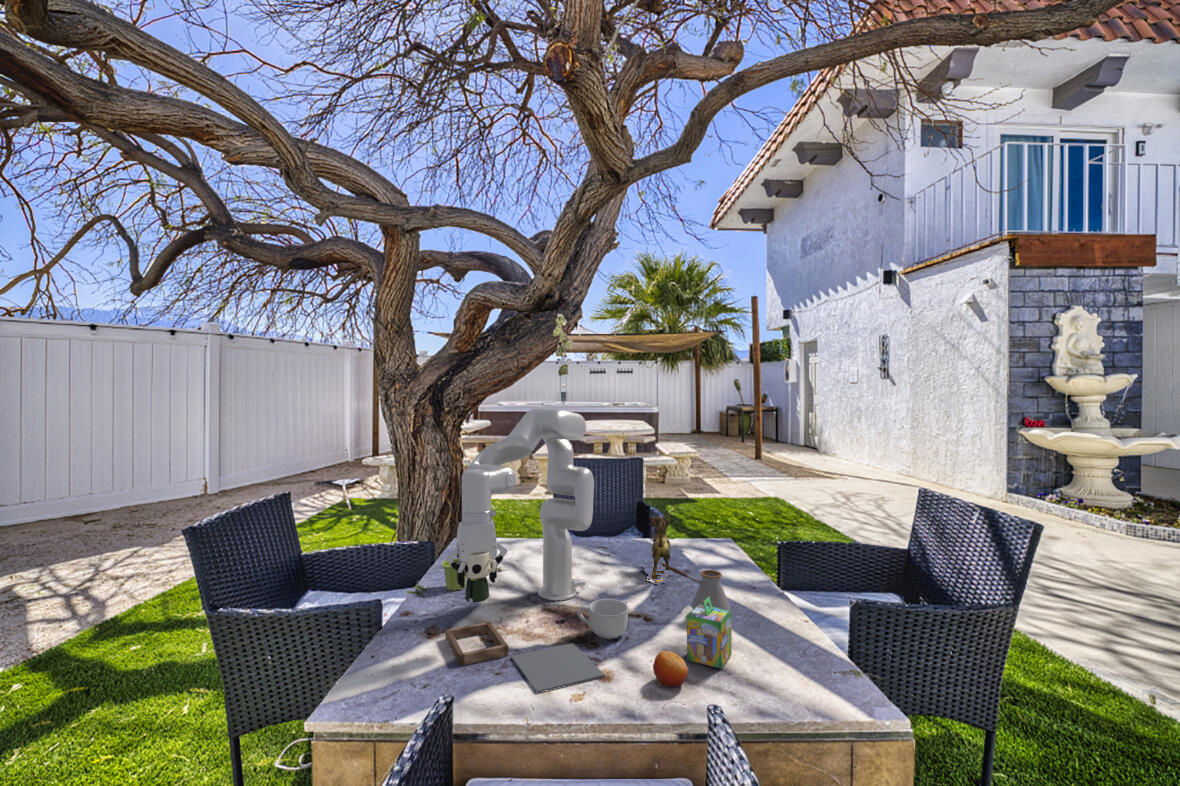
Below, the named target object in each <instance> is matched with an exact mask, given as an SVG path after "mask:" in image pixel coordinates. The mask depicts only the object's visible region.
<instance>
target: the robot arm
mask: <svg viewBox="0 0 1180 786" xmlns="http://www.w3.org/2000/svg"><path fill="white" fill-rule="evenodd" d="M586 430H587V422H586V420H585V418H584V416H582V415H581V414H580V413H577V412H572V411H568V410H564V409H559V408H532V409H529V410H527V412H525V414H523V416H522V417H521V419H520V420H519V422H518V423H517V424H516V425H515V426H514V427H513V429H512V431H510V433H509V434H508V435H507V436H506V437H504V438H502V439H500V440H497V441H496V442H494V443H492V444H491V445H489V446H487V447H485V448H484V449H482V450H481V451H480V452H479V453H478V454H476V456H475V457H474V459H473V460H472V461H471V462H470V464H468V467H467V469H466V470H465V471H464V472H463V473H462V475H461V521H460V522H458V526H457V533H456V544H455V548H454V549H453V550H451V551H450V552H449V553H448V554H447V555H445V558H444V559H445V561H447V562H448V563H449V564H450V565H451V566H452V567H453V568H454V569H455V570H456V571H457V583H458V584H459V585H460V586H461V588H464V587H465V588H466V584H465V573H464V572H463V569H464V567H465V565H466V563H467V562H468V558H469V555H479V554H484V553H487V552H489V554H490V559H493V560H495V562H496V570H495V572H490V574H489V575H488V576H489V577H488V578H489V581H490V582H491V583H493V584H495V583H496V579H497V578H498V575H497V571H498V570H497V569H498V567H499V564H501V563H502V561H503V560H504V557H505V556H506V555H507V553H508V549H507V548H506V547H505V546H503V545H502V544H500V543H499V542H497V531H496V527H495V522H494V520H493V517H494V516H495V517H496V516H497V510H493V509H492V496H493V495H503V494H506V493H509V492H510V491H511V490H512V489H513V488H514V487H515V485H516V482H517V476H516V473H515V471H514V470H513V469H512V468H511V467H509V466H505V464H507V463H513V462H515V461H519V460H523V459H525V458H527V457H529V456H530V455H531V454H532V453H533V451H534V450H535V448H536V447H537V446H538V444H539V443H540V441H541V440H543V441H544V443H545V446H546V448H547V471H546V472H547V473H546V488H547V490H548V491H549V492H550V493H552V494H555V495H563V496H573V497H574V499H568V498H561V497H560V498H559V497H552V498H547V499H545V500H544V501H543V503H542V504H541V506H540V509H539V510H540V511H539V515H540V522H541V529H542V587H540V588H539V589H538V590H537V594H538V597H540V598H541V599H543V600H546V599H547V600H546V601H555V602H556V601H558V600H559V601H566V600H569V599H573V598H574V597H575V596H576V595H577V588H578V587H583V586H586V581H585V579H579V578H574V579H573V578H572V577H573V573H572V572H573V571H572V570H573V569H572V566H573V543H572V542H573V540H572V536H571V534H570V532H569V530H571V531H580V532H583V531H586V530H588V529H589V528H590V527H591V524H592V521H593V517H594V516H593V514H594V498H595V497H594V495H595V493H594V492H595V478H594V474H593V472H592V471H591V469H589V468H588V467H583V466H575V465H574V449H573V446H572V444H571V442H570V441H579V440H580V439H582V438H584V436H585V434H586V432H587V431H586ZM498 551H499V553H498ZM455 557H456V559H459V562H458V563H455V562H454V561H453V559H455ZM491 568H492V563H491ZM465 588H464V589H465Z"/></svg>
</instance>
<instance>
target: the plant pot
mask: <svg viewBox="0 0 1180 786" xmlns="http://www.w3.org/2000/svg"><path fill="white" fill-rule="evenodd" d="M453 561H454V562H455V563H458V562H459V558H453ZM441 567H442V568H443V570H444V571H443V572H444V579H445V586H446V589H447V590H448V591H451V592H452V591H453V592H454V591H457V590H458V591H461V590H463V589H466V586H465V587H464V588H461V586H460V585H459V584H458V583H457V571H456V570H455V569H454V568H453V567H452V566H451V565H450V564H449V563H448V562H447V561H446V560H444V561H442V562H441ZM465 585H467V577H466V576H465Z"/></svg>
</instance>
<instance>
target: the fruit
mask: <svg viewBox="0 0 1180 786" xmlns="http://www.w3.org/2000/svg"><path fill="white" fill-rule="evenodd" d="M652 669H653V674H654V676H655V678H656V682H657V687H658V688H660V686H665V687H669V688H679V687H681V686H682V685H683V683H684V682H685V680H686V679H687V678H688V673H689V667H688V666H687V664H686V662H685V660H684V658H682V657H681V656H680V655H679V654H677V653H674V652H673V651H671V650H669V651H667V650H665V651H660V652H658V653H657V654H656V656H655V658H654V662H653V665H652Z"/></svg>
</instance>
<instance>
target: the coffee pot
mask: <svg viewBox="0 0 1180 786" xmlns="http://www.w3.org/2000/svg"><path fill="white" fill-rule="evenodd" d="M661 565H662V566H663V567H666V568H667V569H670V570H671V571H673V572H674V573H675V574H677V575H679V576H682V577H684V578H687V579H688V580H692V581H693V582H695V583H697V584H699V587H698V589H697V591H696V594H694V595H695V596H694V598H693V600H692V602H691V609H692V610H693V609H694V608H695V607H697V606H698V605H703V601H704V600H705V599H706V598H707V597H708V596H709V597H710V601H711V605H712V607H716V608H720V609H723V610H727V611H731V605H730V602H729V600H728V599H727V595H726V592H725V590H724V588H723V585H722V582H721V581H720V580H721V578H722V576H723V574H722V572H720V571H718V570H714V569H706V570H705V569H704V570H701V571H700V572H699V573H700V575H701V578H702V580H700V579H697V578H695V577H693V576H691V575H689V574H686V573H685V572H683V571H681V570H679V569H677V568H676V567H672V566H670V564H669V565H666V563H665V562H662V563H661ZM661 565H660V568H661ZM660 568H659V569H660ZM706 606H709V603H707V604H706Z"/></svg>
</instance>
